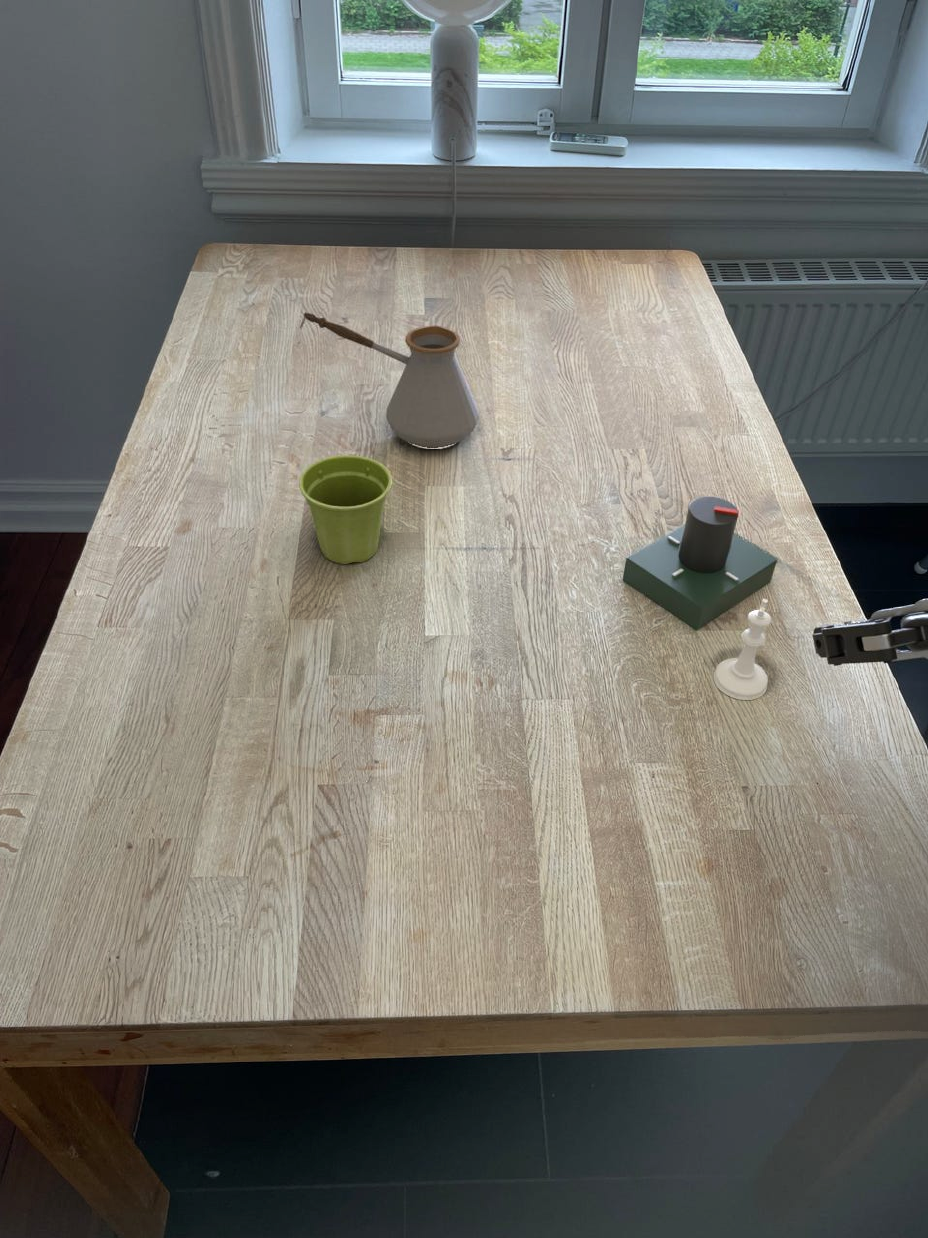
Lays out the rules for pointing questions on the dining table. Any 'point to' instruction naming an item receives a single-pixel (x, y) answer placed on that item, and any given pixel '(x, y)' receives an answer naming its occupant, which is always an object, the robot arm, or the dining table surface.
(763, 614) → the chess piece
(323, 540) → the plant pot
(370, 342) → the coffee pot
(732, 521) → the knob
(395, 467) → the dining table surface
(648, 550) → the panel
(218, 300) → the dining table surface
